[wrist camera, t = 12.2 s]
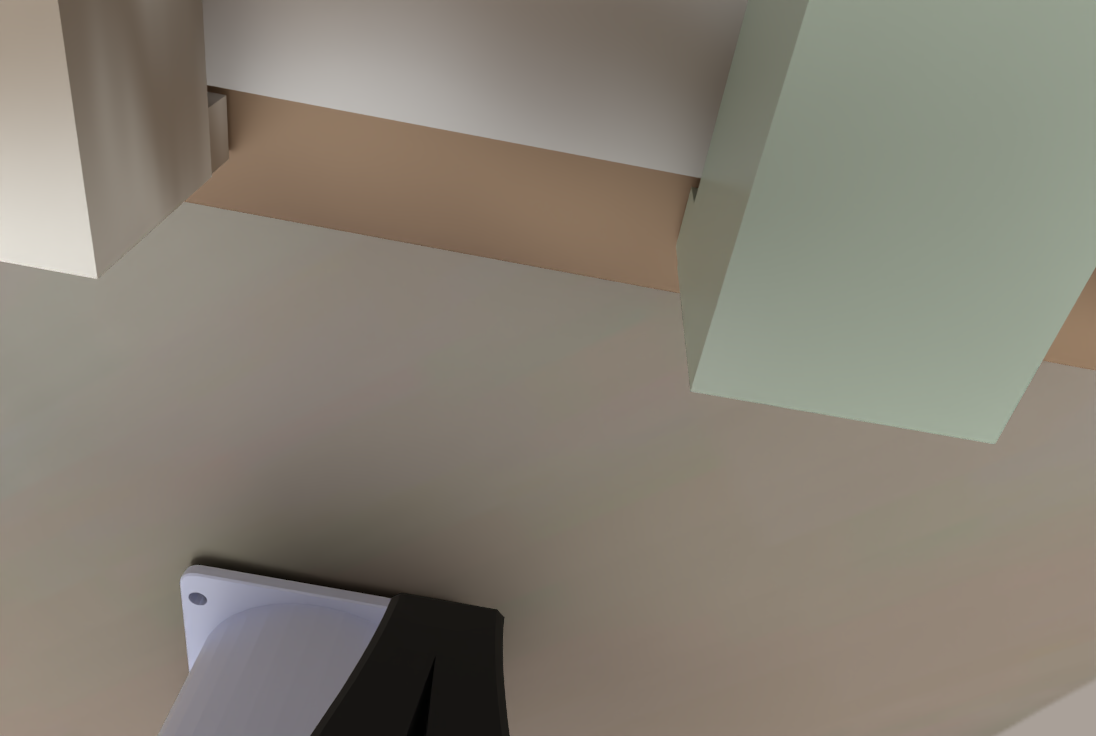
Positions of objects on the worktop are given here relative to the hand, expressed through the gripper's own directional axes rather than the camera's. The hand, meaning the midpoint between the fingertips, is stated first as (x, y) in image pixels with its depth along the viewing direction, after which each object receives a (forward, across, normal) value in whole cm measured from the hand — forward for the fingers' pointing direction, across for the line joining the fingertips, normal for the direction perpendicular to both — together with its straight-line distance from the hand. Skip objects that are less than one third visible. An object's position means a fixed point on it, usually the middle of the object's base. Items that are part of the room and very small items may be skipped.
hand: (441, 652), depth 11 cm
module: (+8, -5, -6) cm, 11 cm away
